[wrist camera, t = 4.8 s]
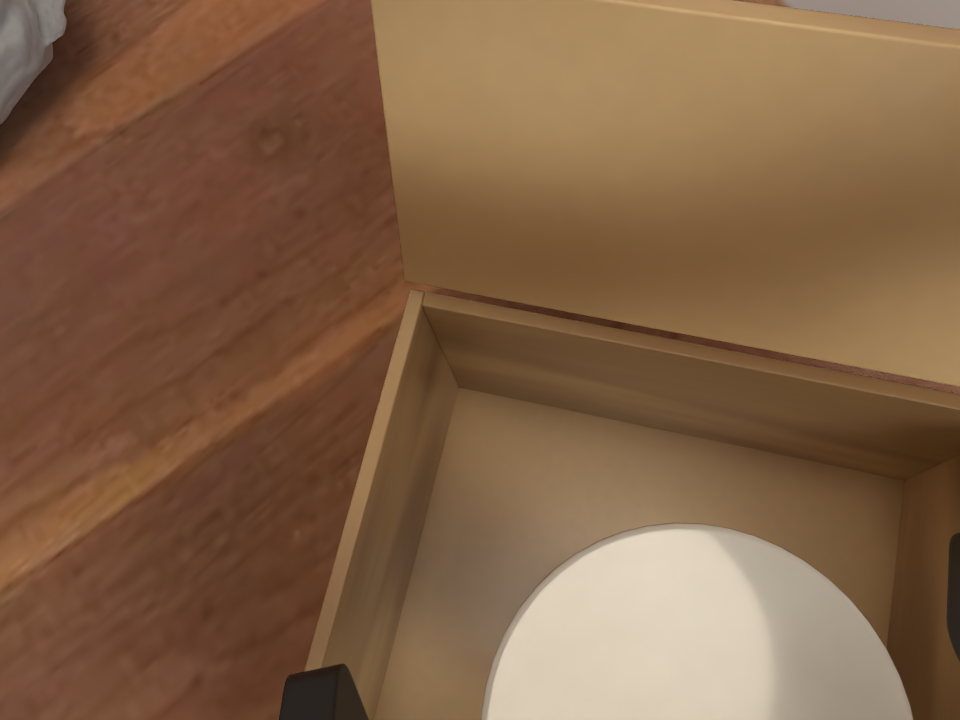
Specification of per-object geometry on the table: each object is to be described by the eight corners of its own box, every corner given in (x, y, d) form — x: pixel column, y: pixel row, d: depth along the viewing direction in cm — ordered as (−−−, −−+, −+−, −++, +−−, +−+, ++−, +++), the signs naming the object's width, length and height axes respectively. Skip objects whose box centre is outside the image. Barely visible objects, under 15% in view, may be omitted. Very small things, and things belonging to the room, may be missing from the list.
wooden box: (452, 377, 23) (410, 288, 17) (914, 473, 21) (1047, 410, 15) (315, 905, 20) (205, 1020, 14) (850, 1072, 18) (987, 1290, 12)
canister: (738, 608, 21) (944, 574, 9) (707, 811, 19) (898, 1059, 8) (553, 564, 21) (530, 481, 10) (511, 757, 20) (433, 914, 9)
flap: (403, 281, 17) (409, 266, 17) (1065, 408, 15) (1062, 388, 15) (365, -33, 12) (374, -48, 12) (1354, 98, 10) (1343, 77, 10)
